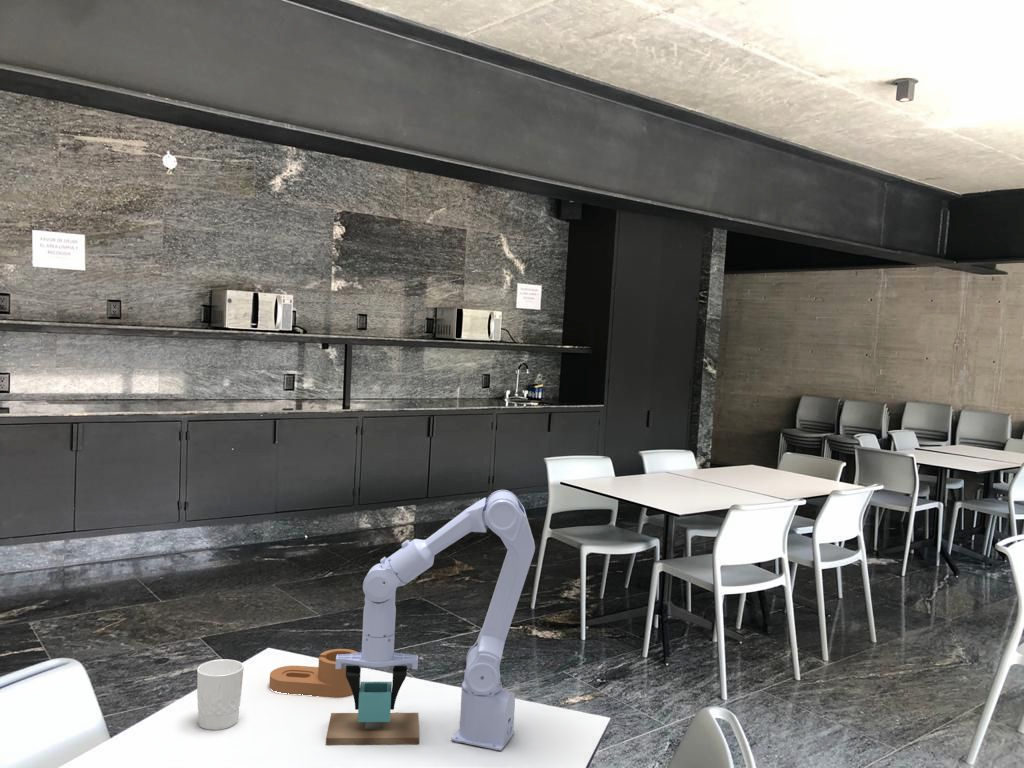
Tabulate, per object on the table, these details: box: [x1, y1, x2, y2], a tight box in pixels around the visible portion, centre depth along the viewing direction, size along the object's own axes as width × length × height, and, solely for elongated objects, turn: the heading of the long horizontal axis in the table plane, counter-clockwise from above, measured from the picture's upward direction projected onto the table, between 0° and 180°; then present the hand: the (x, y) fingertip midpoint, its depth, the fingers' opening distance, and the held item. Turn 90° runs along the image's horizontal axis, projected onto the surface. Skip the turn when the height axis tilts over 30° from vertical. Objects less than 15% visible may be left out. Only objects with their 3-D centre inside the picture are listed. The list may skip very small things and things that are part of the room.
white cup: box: [196, 658, 245, 731], centre depth 147 cm, size 8×8×10 cm
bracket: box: [269, 648, 360, 699], centre depth 165 cm, size 18×8×7 cm, turn 88°
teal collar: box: [357, 681, 392, 722], centre depth 147 cm, size 6×6×5 cm
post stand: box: [325, 712, 420, 746], centre depth 147 cm, size 16×10×6 cm, turn 97°
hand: (375, 707), depth 147 cm, fingers closed on teal collar, 5 cm apart
